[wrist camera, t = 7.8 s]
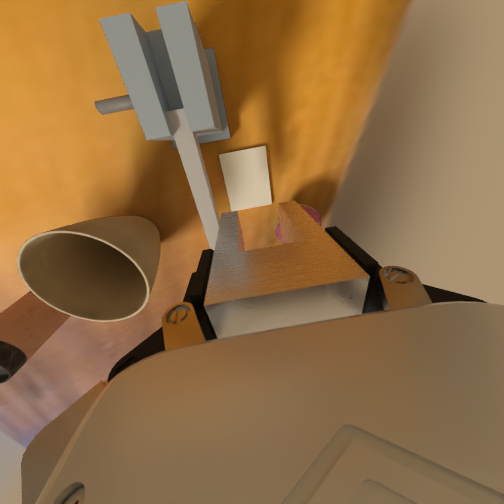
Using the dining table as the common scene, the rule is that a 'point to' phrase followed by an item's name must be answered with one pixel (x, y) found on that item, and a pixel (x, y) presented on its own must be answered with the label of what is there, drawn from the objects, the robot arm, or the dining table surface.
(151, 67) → the vise
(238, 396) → the robot arm
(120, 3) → the dining table surface
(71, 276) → the plant pot
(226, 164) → the mat
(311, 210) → the cupcake
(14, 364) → the travel mug
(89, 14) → the dining table surface
